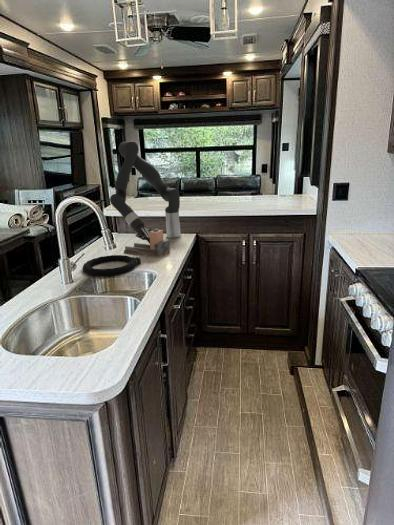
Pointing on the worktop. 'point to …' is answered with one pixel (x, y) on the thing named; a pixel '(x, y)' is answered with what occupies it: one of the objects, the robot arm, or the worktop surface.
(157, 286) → the worktop surface
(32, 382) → the worktop surface
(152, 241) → the block
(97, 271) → the cable lock
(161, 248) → the channel board
